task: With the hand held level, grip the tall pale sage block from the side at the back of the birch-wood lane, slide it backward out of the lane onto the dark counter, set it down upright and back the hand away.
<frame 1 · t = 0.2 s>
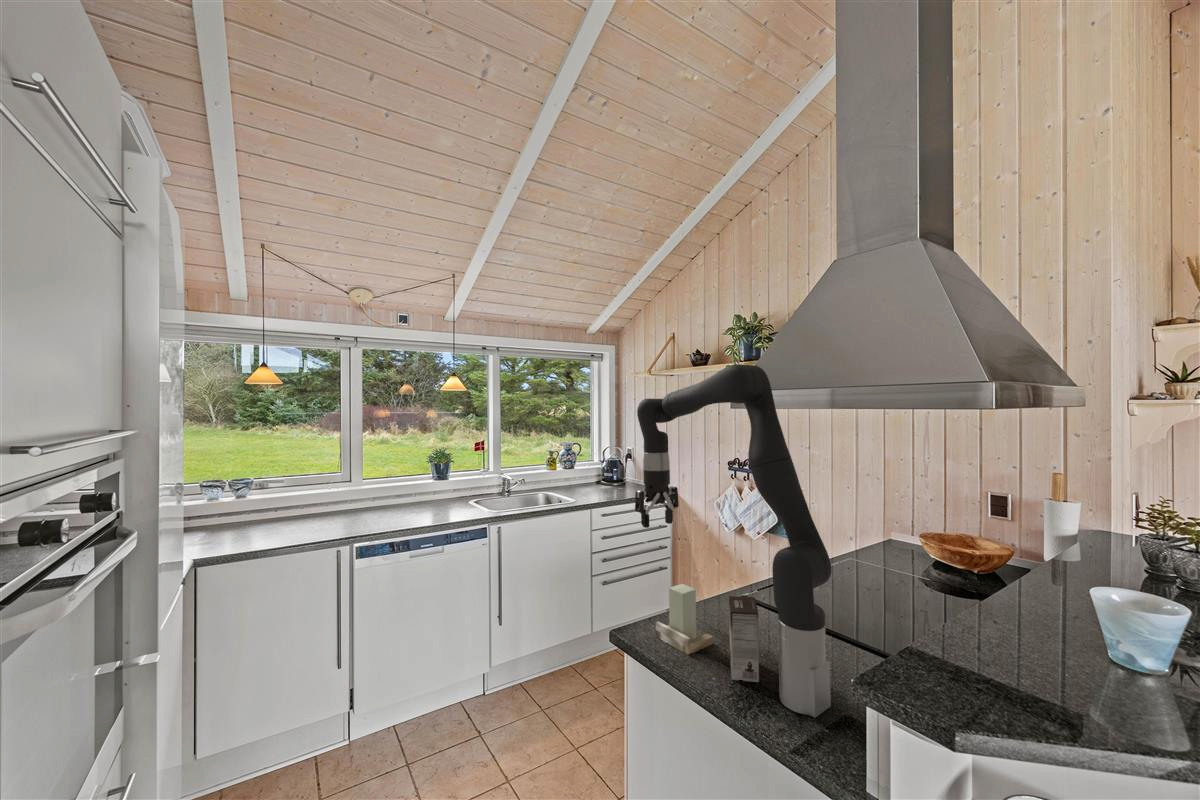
hand: (657, 525, 140), 29 cm above the table, tool pointing down, fingers open, 8 cm apart
sage block: (682, 640, 131), on the table
wooden lane: (682, 640, 131), on the table
coffee box: (744, 671, 117), on the table
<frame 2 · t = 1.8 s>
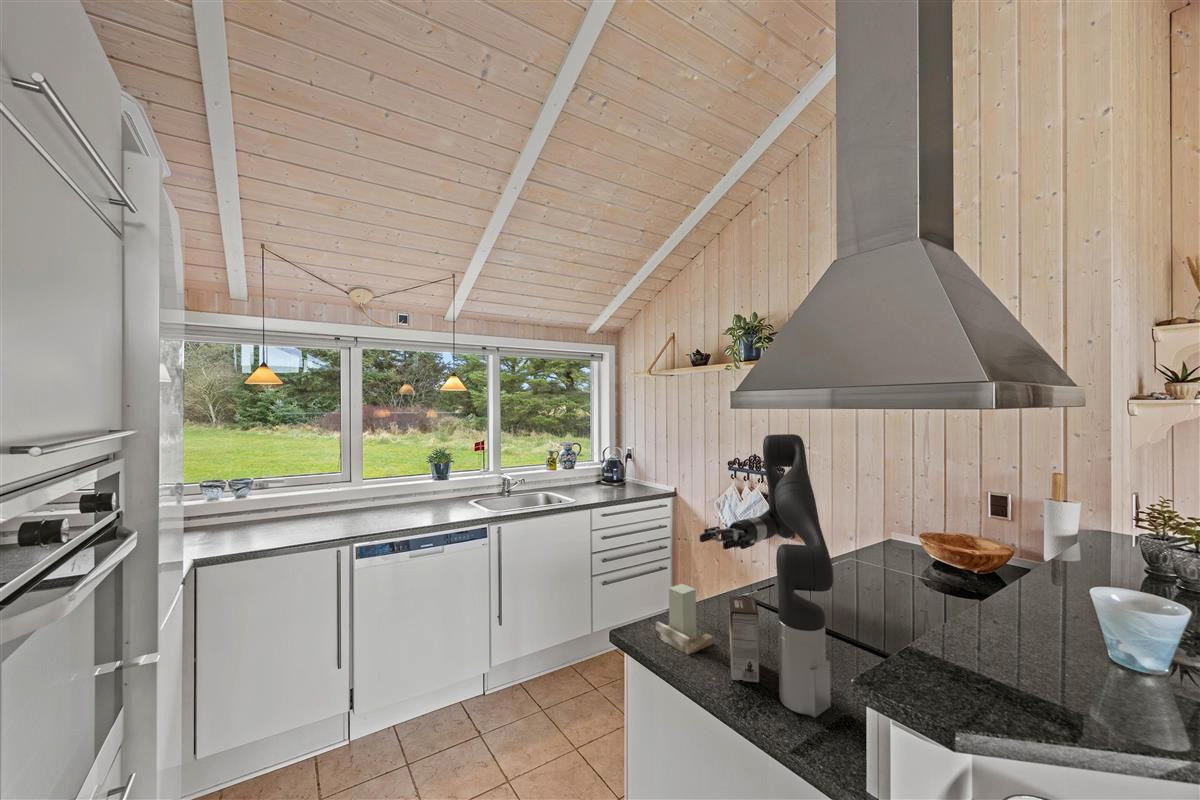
hand: (712, 542, 138), 24 cm above the table, tool horizontal, fingers open, 8 cm apart
nothing on the table moved.
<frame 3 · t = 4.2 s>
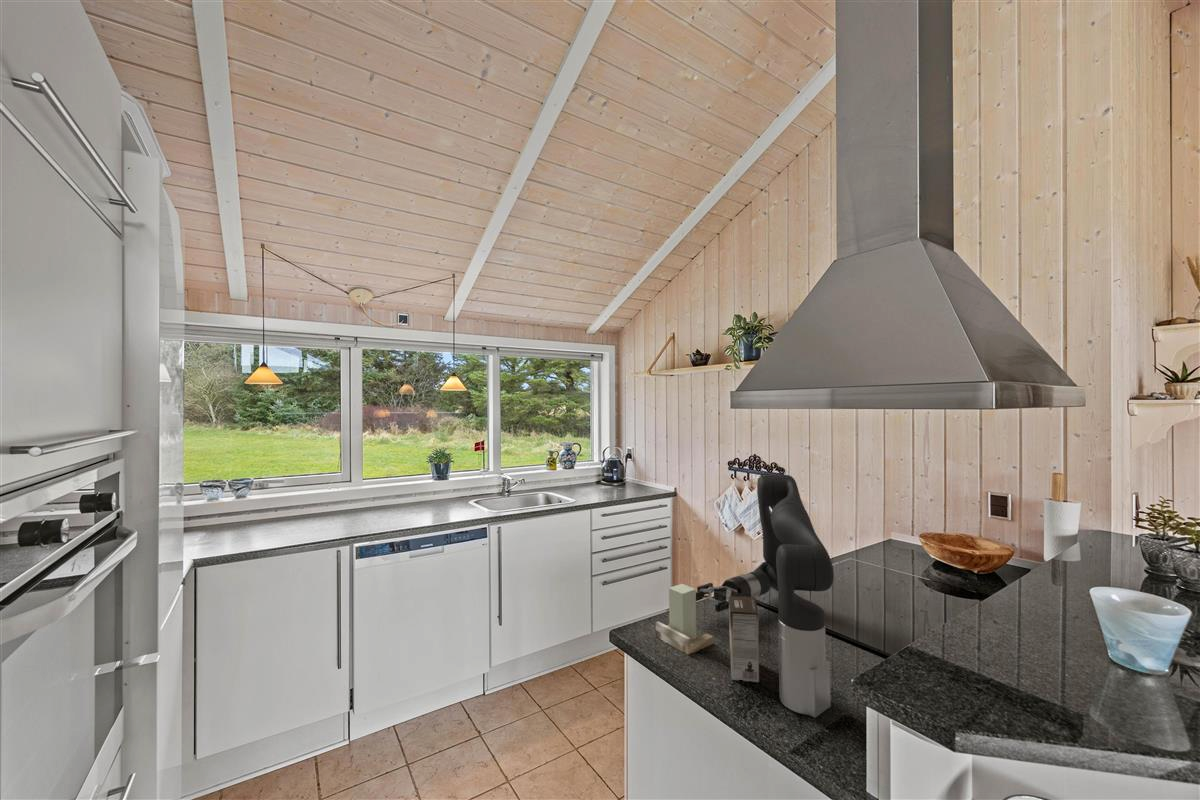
hand: (704, 602, 136), 8 cm above the table, tool horizontal, fingers open, 8 cm apart
nothing on the table moved.
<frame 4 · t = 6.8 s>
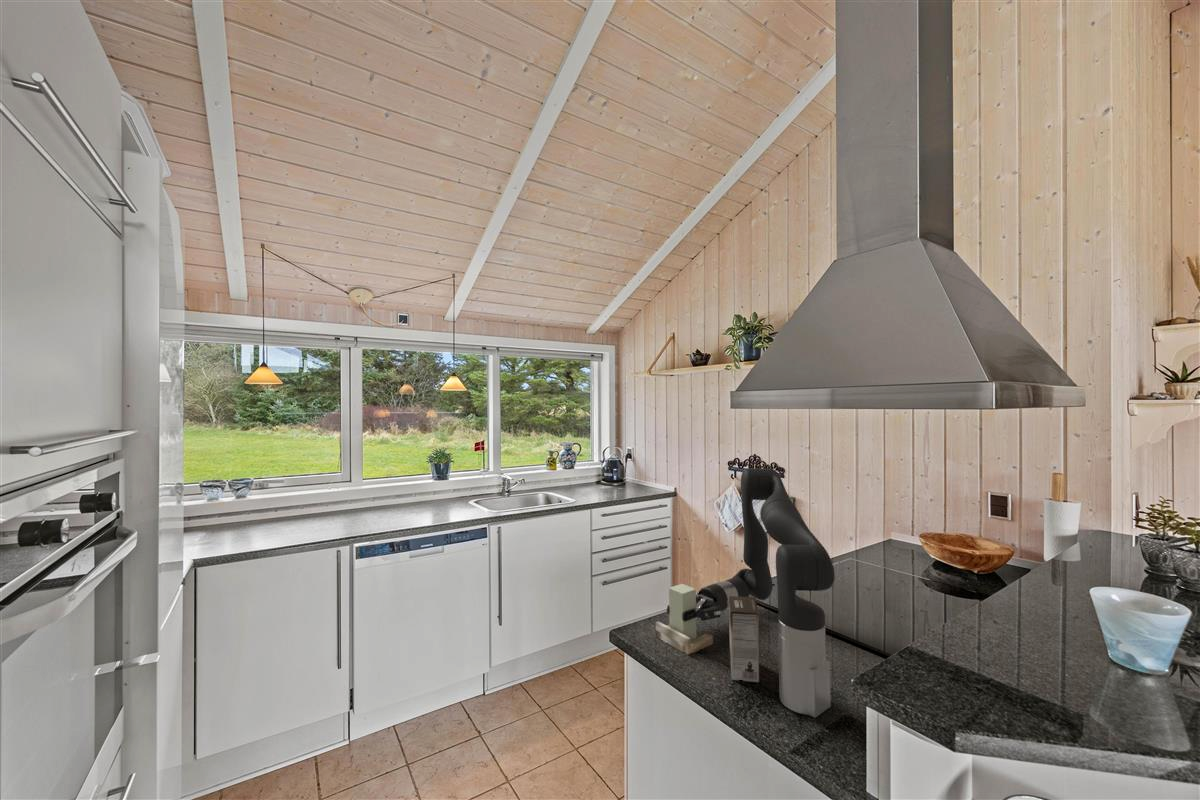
hand: (675, 613, 130), 8 cm above the table, tool horizontal, fingers closed on sage block, 5 cm apart
sage block: (683, 640, 131), on the table, touching gripper
everything else where it was.
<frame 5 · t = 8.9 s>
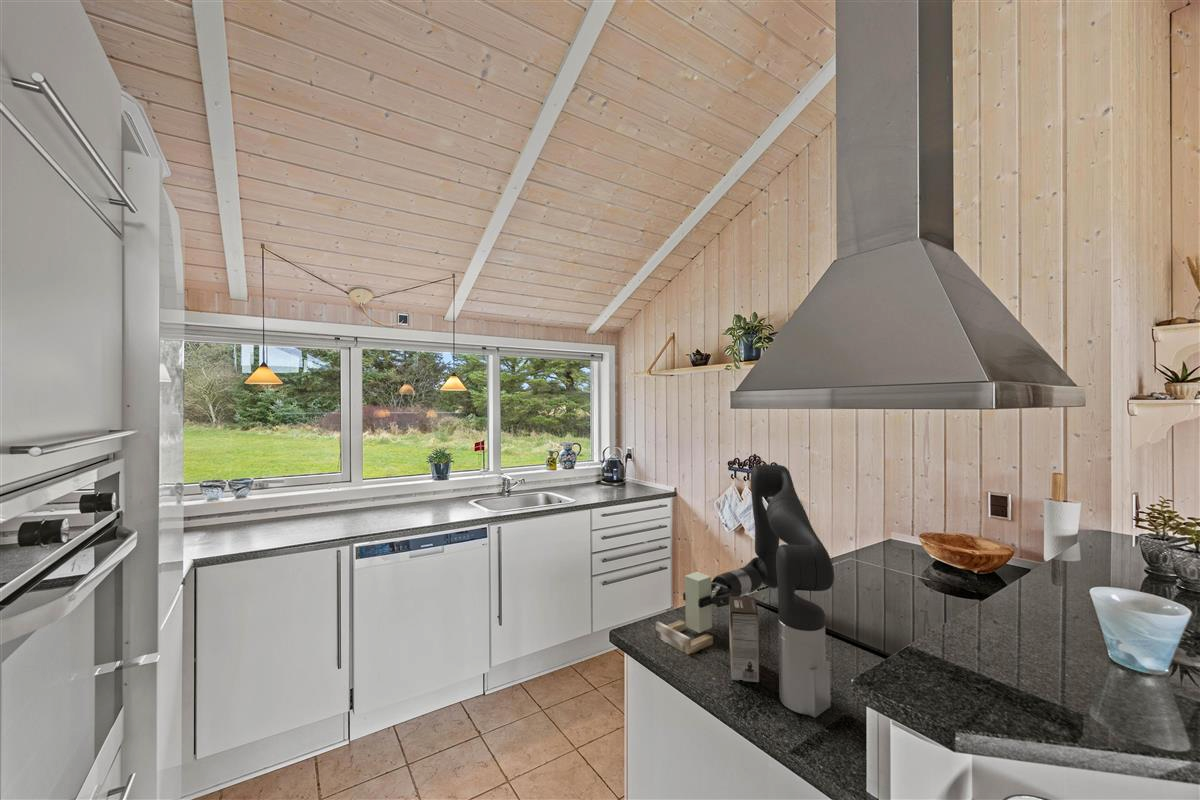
hand: (691, 600, 133), 10 cm above the table, tool horizontal, fingers closed on sage block, 5 cm apart
sage block: (698, 626, 135), point 2 cm above the table, touching gripper
everything else where it was.
when the fingers open (9 cm above the table, at t = 11.3 s): sage block stays where it is, on the table.
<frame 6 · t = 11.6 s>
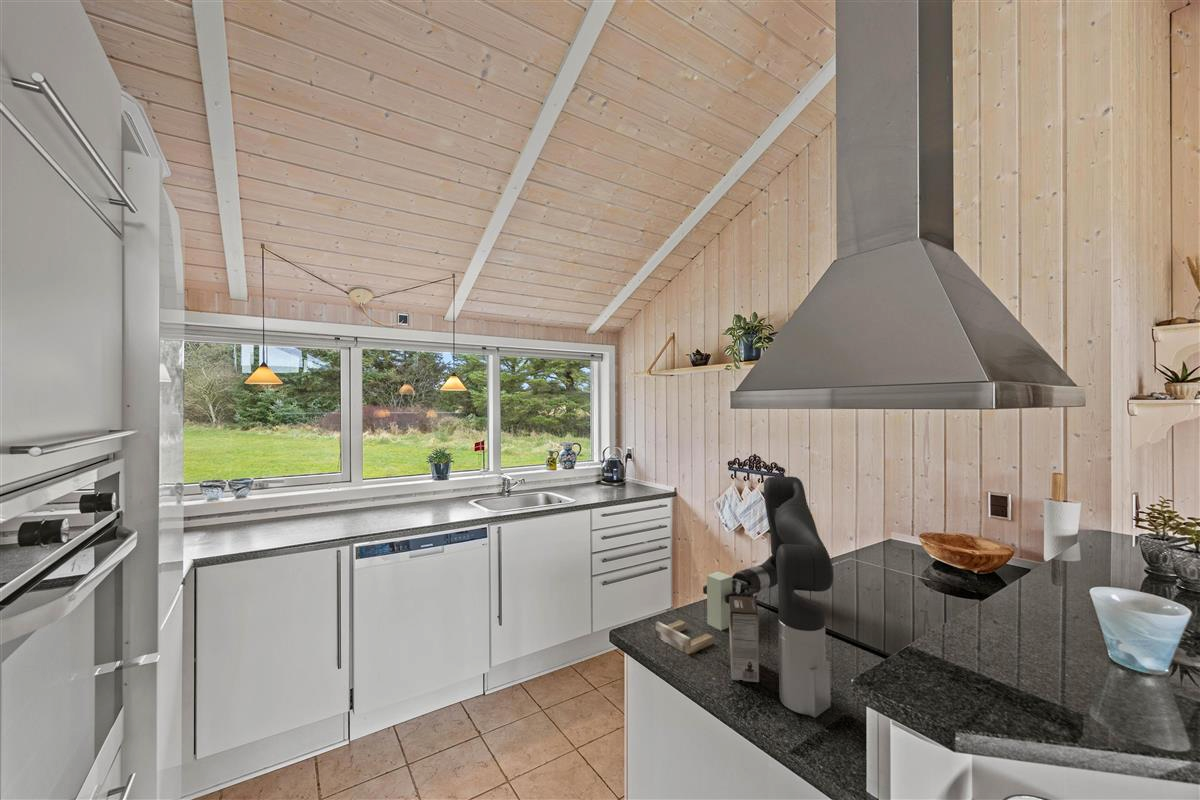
hand: (714, 595, 139), 9 cm above the table, tool horizontal, fingers open, 7 cm apart
sage block: (720, 624, 140), on the table
everything else where it was.
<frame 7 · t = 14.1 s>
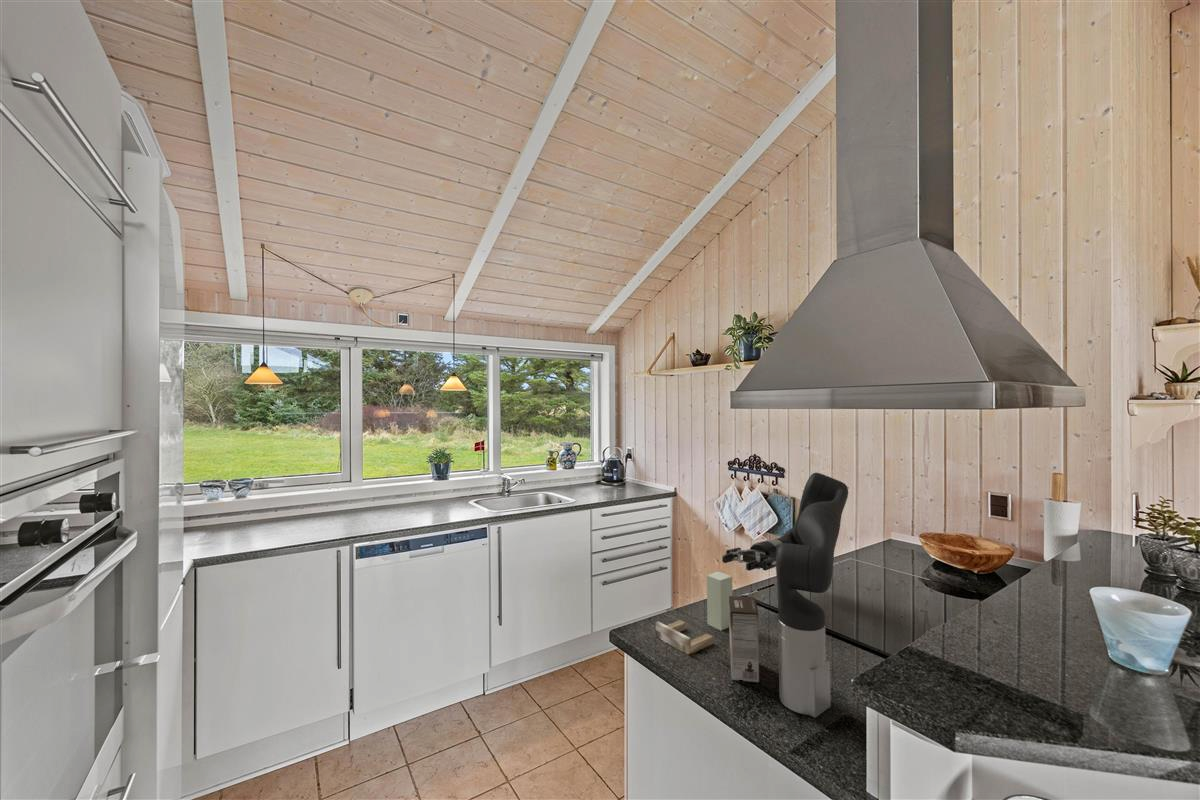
hand: (734, 563, 143), 17 cm above the table, tool horizontal, fingers open, 8 cm apart
nothing on the table moved.
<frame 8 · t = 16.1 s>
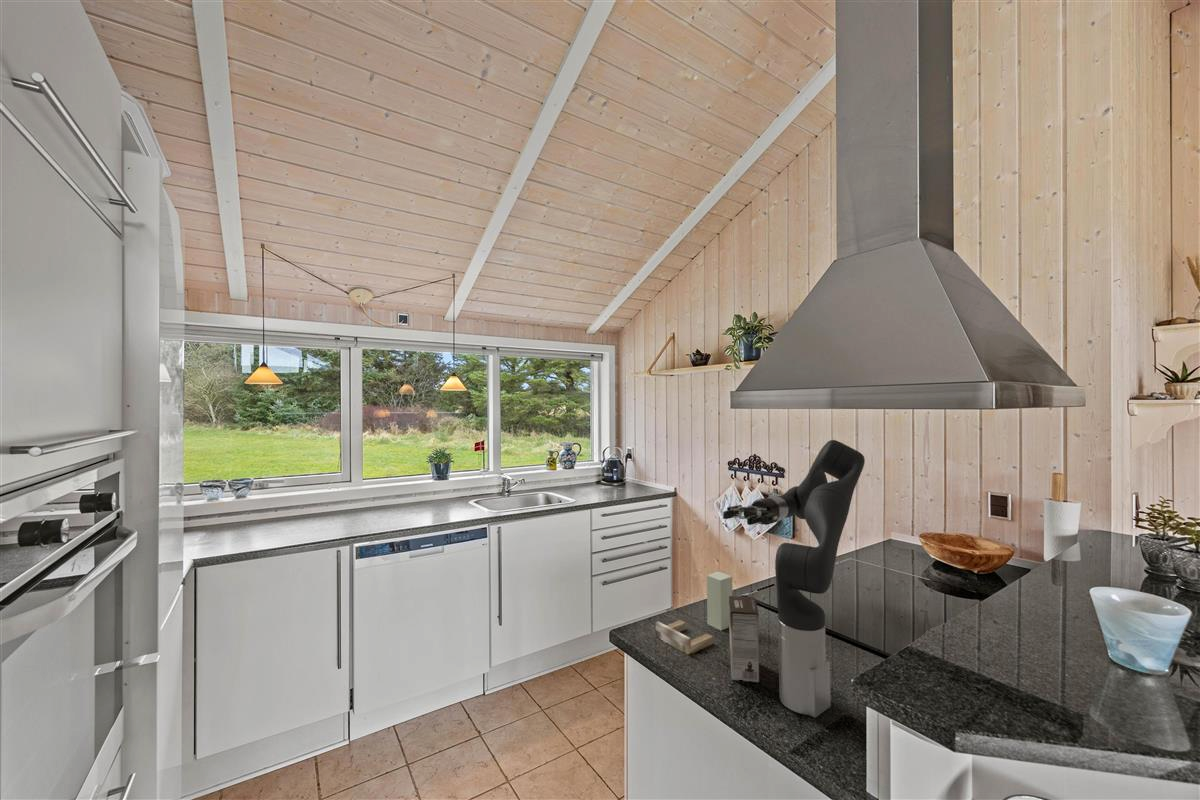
hand: (735, 518, 141), 30 cm above the table, tool horizontal, fingers open, 8 cm apart
nothing on the table moved.
at the end: sage block inside the target area (0.5 cm from its centre), on the table; sage block tilted 0°; the gripper is holding nothing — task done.
